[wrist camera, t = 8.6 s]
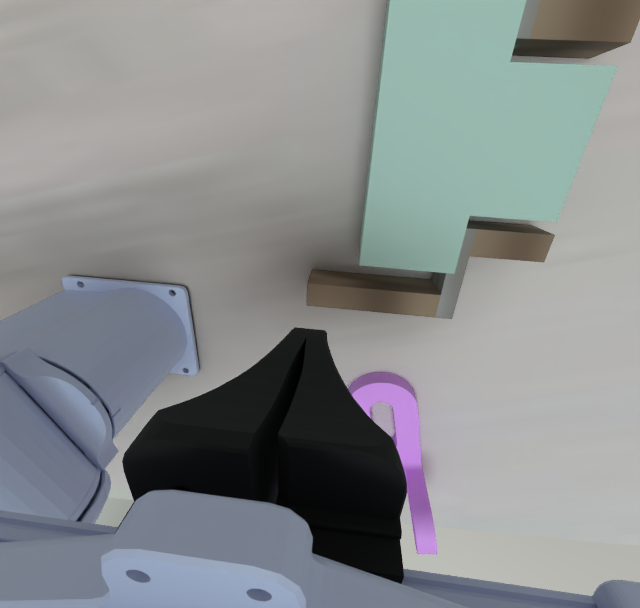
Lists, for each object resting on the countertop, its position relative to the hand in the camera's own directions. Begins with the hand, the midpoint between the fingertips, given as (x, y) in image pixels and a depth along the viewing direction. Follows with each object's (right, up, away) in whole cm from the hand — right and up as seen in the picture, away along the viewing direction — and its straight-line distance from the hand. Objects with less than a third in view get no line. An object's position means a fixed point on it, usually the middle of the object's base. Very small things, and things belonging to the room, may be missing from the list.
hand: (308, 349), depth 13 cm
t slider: (+8, +11, +5) cm, 14 cm away
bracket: (+6, -9, +15) cm, 18 cm away
